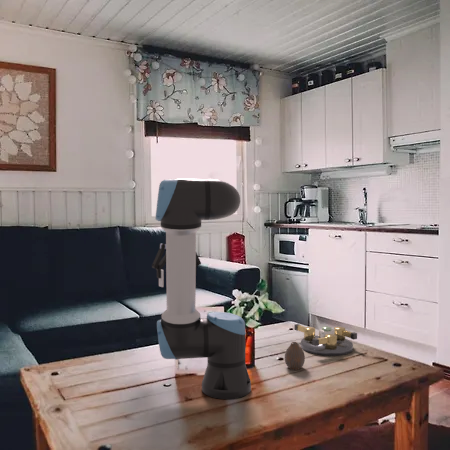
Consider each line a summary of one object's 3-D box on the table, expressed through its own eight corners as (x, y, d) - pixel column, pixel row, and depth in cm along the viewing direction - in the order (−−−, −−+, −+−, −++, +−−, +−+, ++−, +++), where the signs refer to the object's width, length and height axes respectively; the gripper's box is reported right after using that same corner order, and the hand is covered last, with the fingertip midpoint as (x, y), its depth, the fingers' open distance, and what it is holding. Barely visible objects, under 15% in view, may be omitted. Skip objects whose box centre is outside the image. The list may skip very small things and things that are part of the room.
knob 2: (331, 344, 182) (331, 333, 182) (339, 347, 179) (339, 336, 178) (309, 349, 177) (310, 337, 177) (317, 352, 173) (318, 340, 173)
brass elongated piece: (331, 338, 191) (331, 327, 190) (339, 337, 193) (339, 326, 193) (351, 345, 182) (351, 333, 181) (359, 343, 184) (359, 332, 184)
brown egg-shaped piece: (283, 370, 162) (283, 344, 162) (286, 363, 169) (286, 339, 168) (303, 372, 160) (303, 346, 160) (305, 365, 167) (306, 340, 166)
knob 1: (317, 339, 189) (317, 328, 189) (309, 341, 187) (309, 330, 187) (300, 333, 198) (300, 323, 198) (292, 335, 196) (292, 324, 196)
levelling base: (363, 350, 183) (364, 329, 183) (325, 359, 173) (325, 337, 172) (327, 337, 200) (328, 318, 200) (290, 345, 190) (290, 325, 190)
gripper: (199, 228, 193) (200, 280, 194) (142, 231, 179) (143, 286, 180) (209, 229, 187) (209, 283, 188) (150, 232, 173) (151, 289, 174)
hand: (177, 285), depth 184 cm, fingers open, 13 cm apart
